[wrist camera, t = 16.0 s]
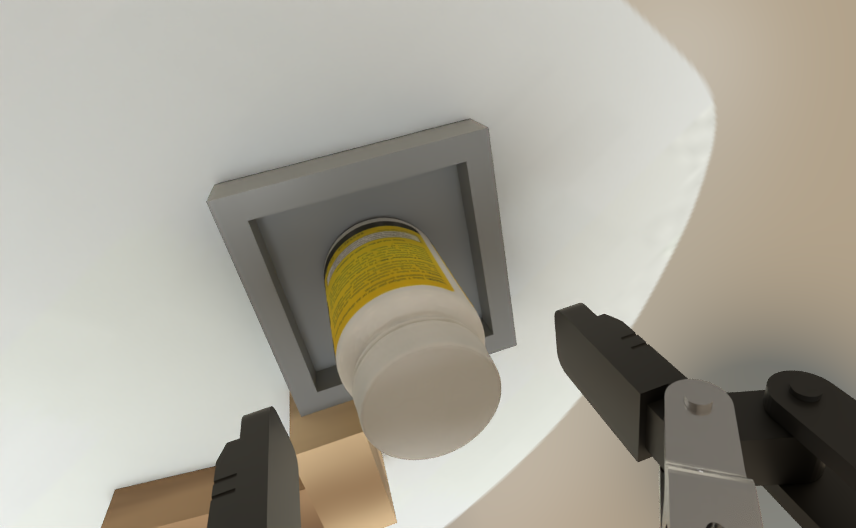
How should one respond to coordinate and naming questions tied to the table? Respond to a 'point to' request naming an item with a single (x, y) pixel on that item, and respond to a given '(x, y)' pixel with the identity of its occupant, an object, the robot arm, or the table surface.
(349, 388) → the supplement bottle
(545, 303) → the table surface
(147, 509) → the flat cardboard carton
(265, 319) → the tray
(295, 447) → the tan rectangular block
